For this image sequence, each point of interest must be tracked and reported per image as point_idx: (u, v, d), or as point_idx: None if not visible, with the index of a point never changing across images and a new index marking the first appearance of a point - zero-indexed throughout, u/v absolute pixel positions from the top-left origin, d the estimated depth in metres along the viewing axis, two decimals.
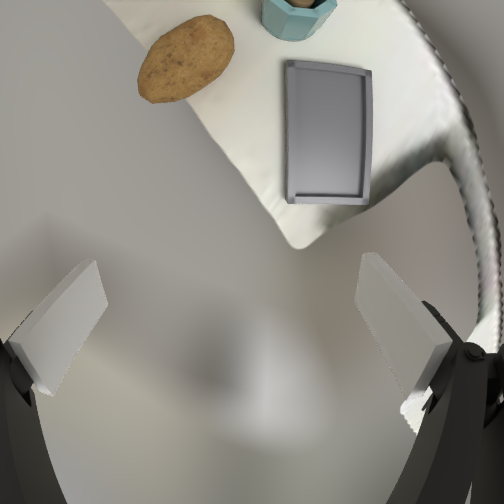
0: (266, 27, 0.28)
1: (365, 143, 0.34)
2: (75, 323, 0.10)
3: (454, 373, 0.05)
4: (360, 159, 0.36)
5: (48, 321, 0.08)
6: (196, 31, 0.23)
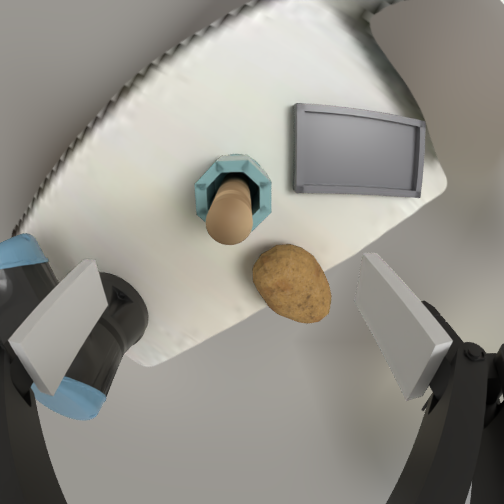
0: None
1: (374, 118, 0.32)
2: (75, 323, 0.10)
3: (454, 373, 0.05)
4: (386, 122, 0.33)
5: (48, 321, 0.08)
6: (279, 286, 0.35)
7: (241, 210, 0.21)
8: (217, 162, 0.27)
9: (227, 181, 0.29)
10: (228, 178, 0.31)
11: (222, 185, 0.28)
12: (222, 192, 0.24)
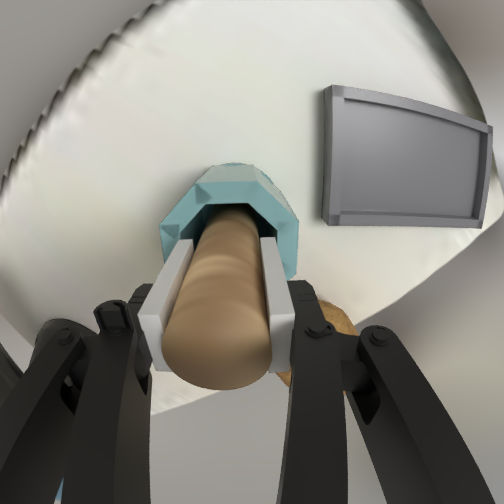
0: None
1: (437, 116, 0.19)
2: None
3: (295, 355, 0.07)
4: (448, 124, 0.20)
5: (173, 294, 0.10)
6: None
7: (245, 334, 0.08)
8: (198, 185, 0.15)
9: (218, 218, 0.16)
10: (221, 209, 0.18)
11: (208, 228, 0.15)
12: (203, 262, 0.11)
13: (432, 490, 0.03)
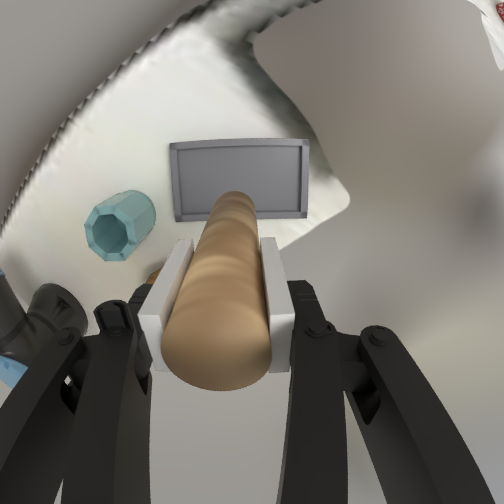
0: (146, 234, 0.44)
1: (246, 145, 0.37)
2: None
3: (295, 355, 0.07)
4: (263, 146, 0.38)
5: (173, 294, 0.10)
6: None
7: (244, 335, 0.08)
8: (95, 207, 0.33)
9: (218, 219, 0.16)
10: (221, 209, 0.18)
11: (208, 228, 0.15)
12: (202, 262, 0.11)
13: (433, 490, 0.03)
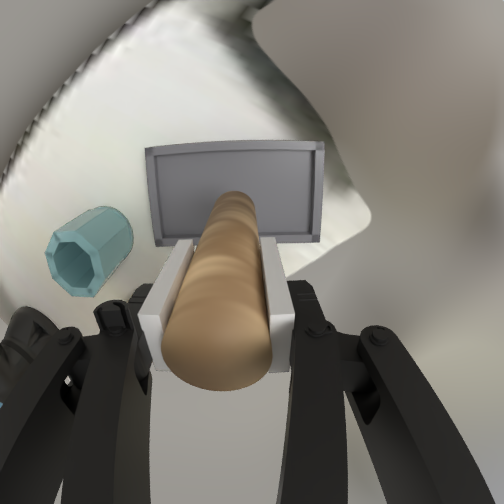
0: (123, 259, 0.35)
1: None
2: None
3: (295, 355, 0.07)
4: (264, 151, 0.30)
5: (173, 294, 0.10)
6: None
7: (245, 335, 0.08)
8: (54, 233, 0.24)
9: (218, 218, 0.16)
10: (221, 209, 0.18)
11: (208, 228, 0.15)
12: (202, 262, 0.11)
13: (433, 490, 0.03)
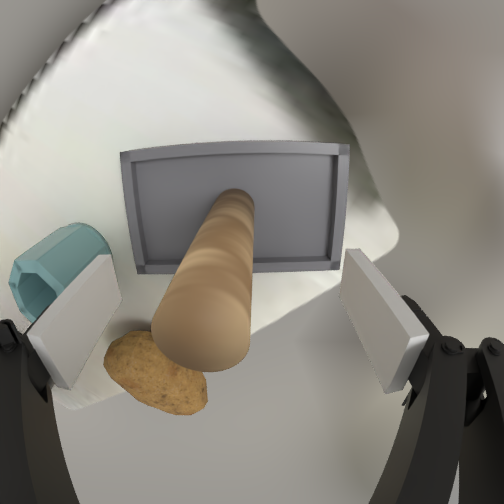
0: None
1: (245, 152, 0.22)
2: (92, 317, 0.10)
3: (431, 368, 0.06)
4: (273, 154, 0.23)
5: (67, 315, 0.08)
6: (125, 384, 0.26)
7: (223, 319, 0.09)
8: (15, 261, 0.18)
9: (214, 215, 0.17)
10: (218, 206, 0.19)
11: (204, 224, 0.16)
12: (193, 254, 0.12)
13: None
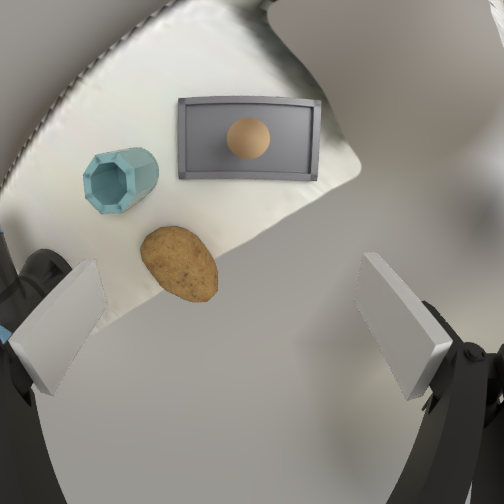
0: None
1: (257, 102, 0.34)
2: (75, 323, 0.10)
3: (454, 373, 0.05)
4: (274, 106, 0.35)
5: (48, 321, 0.08)
6: (157, 262, 0.38)
7: (260, 127, 0.21)
8: (96, 156, 0.30)
9: None
10: None
11: None
12: None
13: None
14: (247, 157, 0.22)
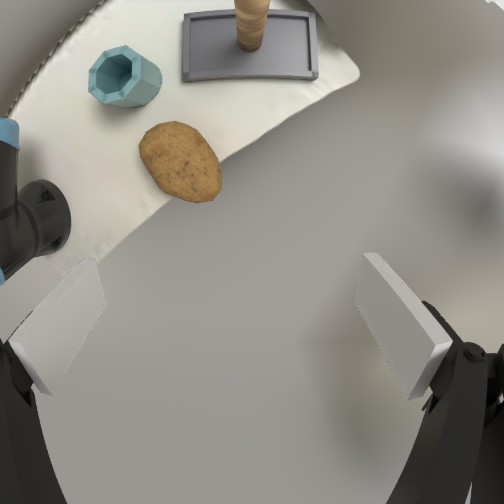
0: (149, 100, 0.36)
1: None
2: (75, 323, 0.10)
3: (454, 373, 0.05)
4: (272, 18, 0.31)
5: (48, 321, 0.08)
6: (156, 152, 0.33)
7: None
8: (105, 51, 0.25)
9: None
10: None
11: None
12: None
13: None
14: (252, 4, 0.18)
